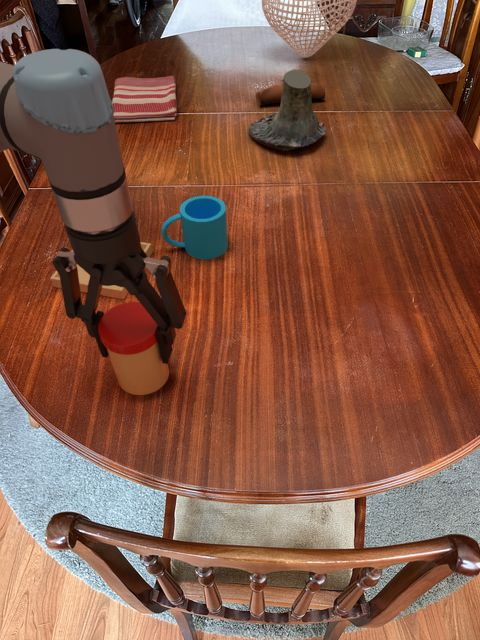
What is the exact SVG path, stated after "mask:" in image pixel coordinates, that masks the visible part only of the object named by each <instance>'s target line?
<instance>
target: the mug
mask: <svg viewBox="0 0 480 640" xmlns="http://www.w3.org/2000/svg"><path fill="white" fill-rule="evenodd" d="M178 220H180V222H181V229H182V230H181V231H182V236H183V237H182V238H183V242H182V241H178V240H174V239H172V238H171V237H170V236H169V235H168V228H169V226H170V225H172V224H173V223H174V222H176V221H178ZM227 223H228V221H227V206H226V204H225V202H224V201H223V200H221V199H220V198H217V197H215V196H213V195H198V196H193V197H191V198H188V199H186V200H185V201H183V202H182V203H181V205H180V206H179V213H176V214H174V215H172V216H170V217H169V218H168V219H166V220H165V221H164V222H163V224H162V227H161V236H162V238H163V240H164V241H165V242H166V243H167V244H169V245H171V246H173V247H177V248H184V249H185V250H184V251H185V252H186V253H187V254H188V255H189V256H190V257H192V258H195V259H196V260H197V259H198V260H212V259H216V258H219V257H221V256H222V255H224V254H225V253H226V252H227V250H228V248H229V239H228V224H227Z"/></svg>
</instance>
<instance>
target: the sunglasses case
mask: <svg viewBox="0 0 480 640" xmlns="http://www.w3.org/2000/svg"><path fill="white" fill-rule="evenodd" d="M282 84H283V83H281V84H275V85H271V86H269V87H267V88H264V89H261V90H259V91H258V92H256V93H255V99H256V101H257V104H258V106H259V107H261V106H267V105H271V104H272V105H273V104H276V103H281V97H282V91H283V86H282ZM311 98H312V100H316V99H323V100H325V99H326V89H325V87H324V85H323V84H320V83H316V82H311Z"/></svg>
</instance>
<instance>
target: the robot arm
mask: <svg viewBox="0 0 480 640" xmlns="http://www.w3.org/2000/svg"><path fill="white" fill-rule="evenodd" d="M104 76H105V75H104V73H103V70H102V67H101V64H100V63H99V62H98V61H97V59H96V58H95V57H93V56H92V55H91V54H89V53H87V52H85V51H82V50H79V49H73V48H68V49H60V48H50V49H43V50H38V51H35V52H31V53H29V54H27V55H25V56H23V57H21V58H20V59H19V60H17V62H15V64H10V63H6V62H4V61H0V154H1V153H2V152H4V151H7V150H13V151H16V152H19V153H22V154H25V155H27V156H31V157H37V158H39V160H40V161H41V163H42V166H43V169H44V171H45V174H46V176H47V180H48V183H49V186H50V189H51V192H52V194H53V195H52V196H53V198H54V200H55V203H56V207H57V209H58V213H59V215H60V218H61V221H62V223H63V224H64V230H65V232H66V235H67V237H68V241H69V243H70V247H71V249H72V250H73V251H72V250H70V249H68V248H67V247H64V246H63V247H60V249H59V250H58V252H57V253H56V255H55V256H54V258H53V260H52V262H51V263H52V266H53V267H54V269H55V271H56V270H57V272H58V274H59V276H60V281H61V287H62V288H61V292H62V299H63V304H64V309H65V315H66V317H67V318H69V319H71V320H74V319H76V318H78V319H79V320H80V321H81V322H82V323H84V325H85V328H86V330H87V333H88V335H89V337H90V338H94V339H95V341H96V344H97V347H98V349H99V353H100V355H101V357H102V358H109V354H108V351H107V349H106V348H105V346H104V344H103V343H102V341H101V339H100V335H99V332H98V325H99V322H100V320H101V318H102V316H103V315H104V314H105V313H104V311H103V310H97V309H98V307H99V305H98V304H99V301H100V297H101V295H100V294H101V290H102V286H103V285H104V286H112V285H116V286H119V287H125V288H126V290H127V291H128V294H129V295H130V296H134V297H135V298H136V299H137V302H140V303H141V304H142V306H143V307H144V308H145V309H146V311H147V312H148V313H149V315H150V316H151V317H152V318H153V320H154V321H155V322H156V323H157V328H156V331H155V332H156V337H157V341H158V345H159V350H160V354H161V358H162V363H164V364H168V365H169V363H170V360H171V359H170V358H171V356H172V353H173V345H174V344H175V343H174V342H175V341H176V340H175V339H176V337H177V332H176V329H177V330H181V329H182V328H183V326H184V324H185V320H186V317H187V309H186V308H185V307H186V306H185V305H184V302H183V299H182V297H181V295H180V292H179V290H178V287H177V284H176V282H175V279H174V277H173V273H172V271H171V270H172V268H171V267H172V258H171V257H169V256H168V255H162V256H161V258H160V259H158V258H154V257H151V256H150V257H147V254H146V253H145V252H144V251H143V249H142V247H141V242H142V241H141V237H140V231H139V226H138V221H137V217H136V213H135V211H134V204H133V200H132V195H131V191H130V187H129V182H128V178H127V173H126V168H125V164H124V160H123V155H122V150H121V144H120V140H119V135H118V131H117V130H116V129H117V125H115V124H116V123H115V120H114V111H113V103H112V101H113V100H112V99H111V97H110V95H109V93H110V92H109V90H108V87H107V84H106V80H105V77H104ZM77 264H78V265H79V266H80V267H81V268H82V269H83V270H85V271H86V272H87V273H88V274H89V275H90V279H89V283H88V287H87V289H88V291H87V293H86V296H85V301H84V304H83V300H82V292H81V291H80V284H79V277H78V270H77ZM145 269H146V270H148V271H149V273H150V275H151V279H152V280H155V287H156V288H157V290H156V288H155V287H154V286H153V285H152V283H151V282H150V281H149V278H148V274H147V272H146V271H145Z"/></svg>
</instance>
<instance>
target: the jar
mask: <svg viewBox="0 0 480 640" xmlns="http://www.w3.org/2000/svg"><path fill="white" fill-rule="evenodd" d="M106 349H107V348H106ZM107 351H108V354H109V355H108V358H109V361H110V363H111V366H112V369H113V372H114V375H115V378H116V379H117V383H118V386H119V387H120V388H121V389H122V390H123V391H124V392H125V393H127V394H131V395H134V396H145V395H150V394H153V393H155V392H157V391H159V390H160V389H161V388H163V386H165V384H166V383H167V381H168V380H169V377H170V376H169V375H170V368H169V363H168V364H164V363H162V358H161V354H160V350H159V345H158V341H157V342H156V343H155V344H154V345H153V346H152V347H151V348H149V349H147V350H145V351H143V352H140V353H137V354H131V355H122V354H117V353H114V352H111V351H110V350H108V349H107Z"/></svg>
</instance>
